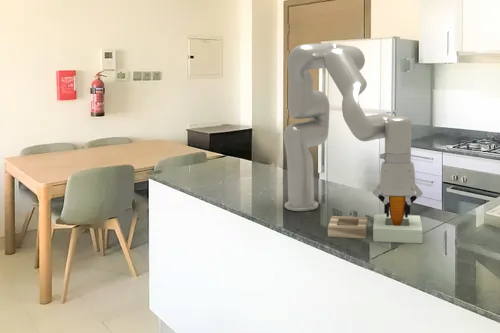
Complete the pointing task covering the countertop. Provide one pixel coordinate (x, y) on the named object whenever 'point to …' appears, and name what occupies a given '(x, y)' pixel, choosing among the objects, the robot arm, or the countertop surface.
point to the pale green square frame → (397, 229)
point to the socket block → (347, 227)
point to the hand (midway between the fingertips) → (396, 215)
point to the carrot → (397, 209)
